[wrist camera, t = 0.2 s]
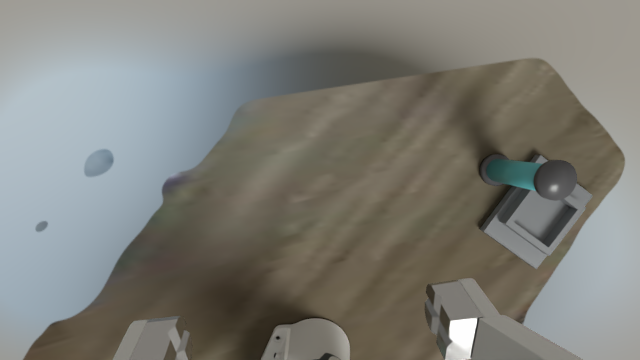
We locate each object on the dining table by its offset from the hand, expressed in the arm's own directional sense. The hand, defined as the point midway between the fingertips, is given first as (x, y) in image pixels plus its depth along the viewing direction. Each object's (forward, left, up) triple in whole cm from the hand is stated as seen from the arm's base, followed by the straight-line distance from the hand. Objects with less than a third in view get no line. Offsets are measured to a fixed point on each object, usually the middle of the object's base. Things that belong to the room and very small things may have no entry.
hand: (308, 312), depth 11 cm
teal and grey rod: (+21, -32, -52) cm, 64 cm away
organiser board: (+19, -44, -52) cm, 71 cm away
